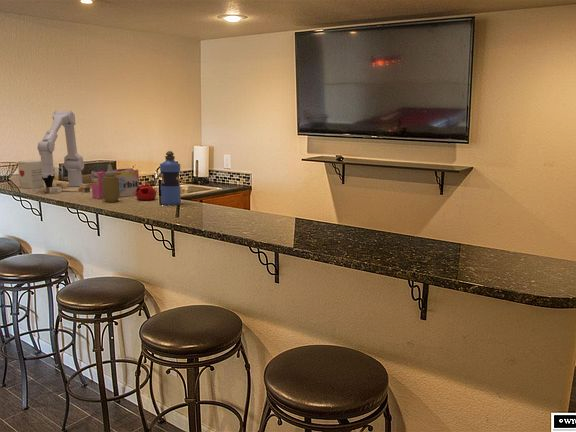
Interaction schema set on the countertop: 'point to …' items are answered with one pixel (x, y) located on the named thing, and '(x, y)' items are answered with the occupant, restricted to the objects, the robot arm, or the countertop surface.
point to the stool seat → (76, 188)
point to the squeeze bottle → (110, 186)
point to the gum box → (126, 181)
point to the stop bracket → (55, 191)
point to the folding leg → (49, 190)
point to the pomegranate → (145, 192)
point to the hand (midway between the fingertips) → (49, 189)
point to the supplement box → (30, 174)
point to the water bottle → (170, 181)
